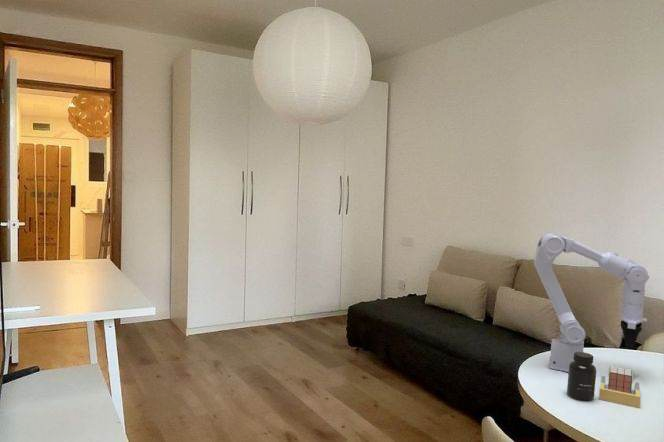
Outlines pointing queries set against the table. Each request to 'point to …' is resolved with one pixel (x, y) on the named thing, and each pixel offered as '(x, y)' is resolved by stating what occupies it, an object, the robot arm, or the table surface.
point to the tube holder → (620, 395)
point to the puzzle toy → (620, 379)
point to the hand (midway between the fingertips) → (629, 346)
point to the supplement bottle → (581, 377)
